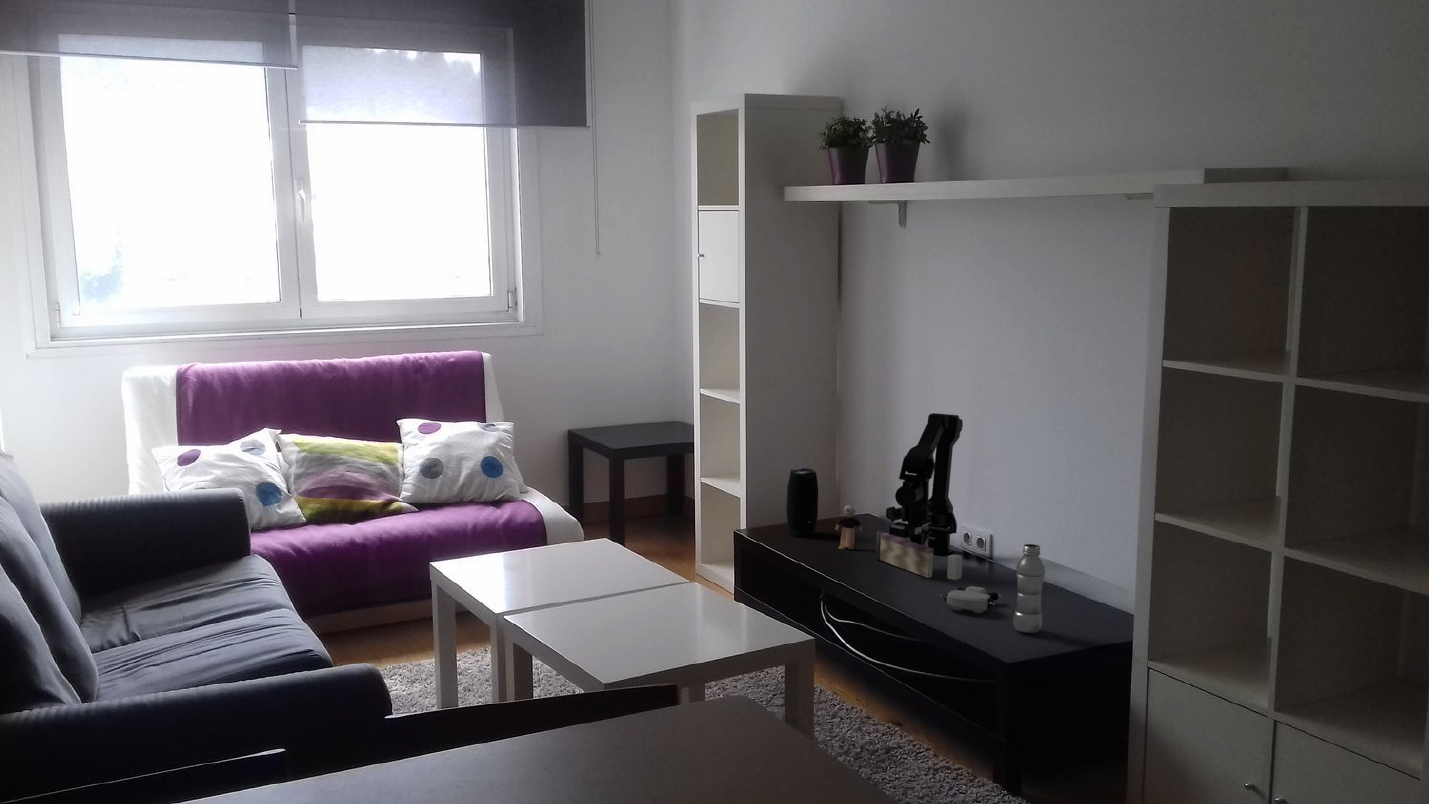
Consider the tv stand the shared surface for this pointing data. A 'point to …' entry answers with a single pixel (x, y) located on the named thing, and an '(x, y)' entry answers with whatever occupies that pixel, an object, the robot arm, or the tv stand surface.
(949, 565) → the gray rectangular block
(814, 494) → the portable speaker
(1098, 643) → the tv stand surface
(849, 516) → the grandmother figurine
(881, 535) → the beige flat panel
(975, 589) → the robot toy
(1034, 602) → the plastic bottle
